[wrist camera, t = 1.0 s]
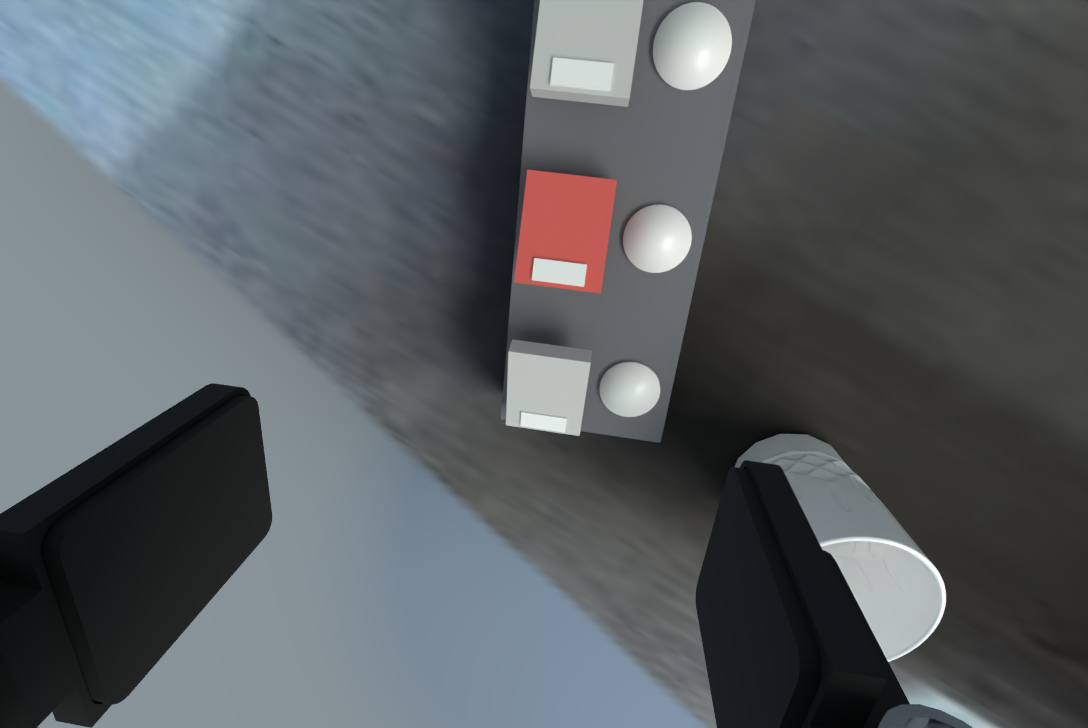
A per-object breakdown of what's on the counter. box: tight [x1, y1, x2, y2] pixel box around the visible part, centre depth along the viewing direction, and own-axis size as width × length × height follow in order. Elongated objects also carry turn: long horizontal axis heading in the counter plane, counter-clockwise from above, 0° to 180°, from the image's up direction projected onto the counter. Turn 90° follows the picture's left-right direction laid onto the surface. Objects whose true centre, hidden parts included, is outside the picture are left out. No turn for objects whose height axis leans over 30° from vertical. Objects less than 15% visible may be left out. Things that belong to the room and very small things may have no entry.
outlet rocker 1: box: [530, 0, 644, 107], centre depth 22 cm, size 5×4×1 cm
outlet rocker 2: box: [514, 170, 617, 294], centre depth 25 cm, size 5×4×1 cm
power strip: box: [501, 0, 756, 443], centre depth 27 cm, size 26×9×4 cm, turn 174°
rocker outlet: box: [506, 339, 592, 436], centre depth 28 cm, size 5×4×1 cm
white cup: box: [735, 434, 946, 662], centre depth 29 cm, size 8×8×10 cm
